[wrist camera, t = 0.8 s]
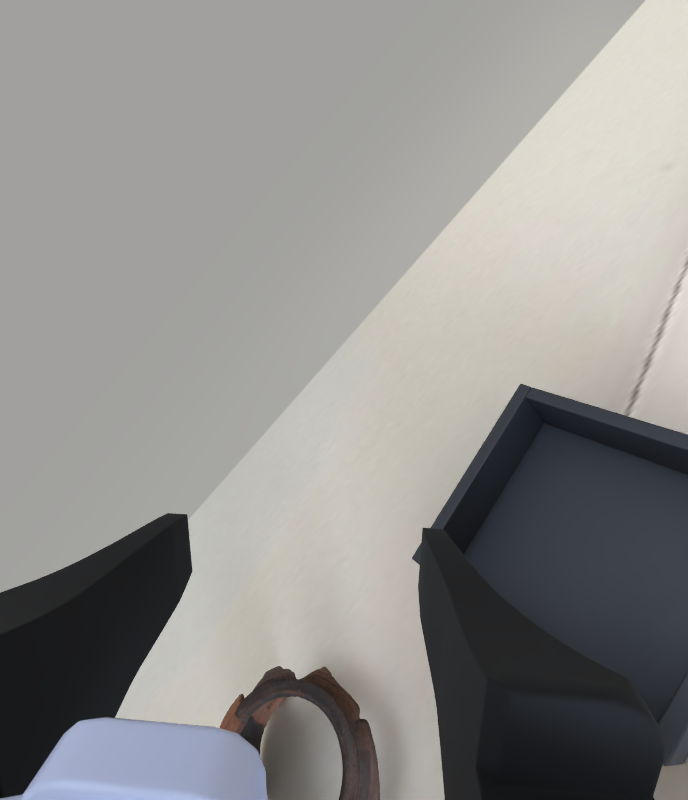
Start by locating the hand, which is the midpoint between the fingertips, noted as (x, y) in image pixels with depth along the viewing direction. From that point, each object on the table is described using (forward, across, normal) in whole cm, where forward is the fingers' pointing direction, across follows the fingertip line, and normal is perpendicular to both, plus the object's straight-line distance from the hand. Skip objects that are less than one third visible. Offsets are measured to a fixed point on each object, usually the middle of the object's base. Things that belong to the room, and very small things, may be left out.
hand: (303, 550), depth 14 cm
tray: (+9, -13, +5) cm, 17 cm away
